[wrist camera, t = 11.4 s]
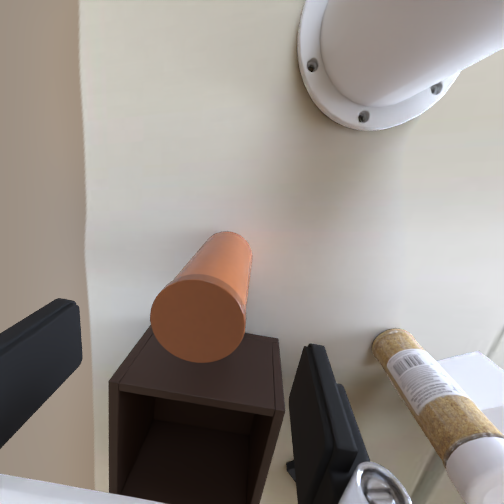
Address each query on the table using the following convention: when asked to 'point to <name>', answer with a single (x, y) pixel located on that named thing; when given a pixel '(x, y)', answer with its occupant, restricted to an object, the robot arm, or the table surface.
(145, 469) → the dark wooden planter box
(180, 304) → the tin
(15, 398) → the robot arm
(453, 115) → the table surface
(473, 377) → the white cube
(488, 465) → the sprinkles bottle
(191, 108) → the table surface
